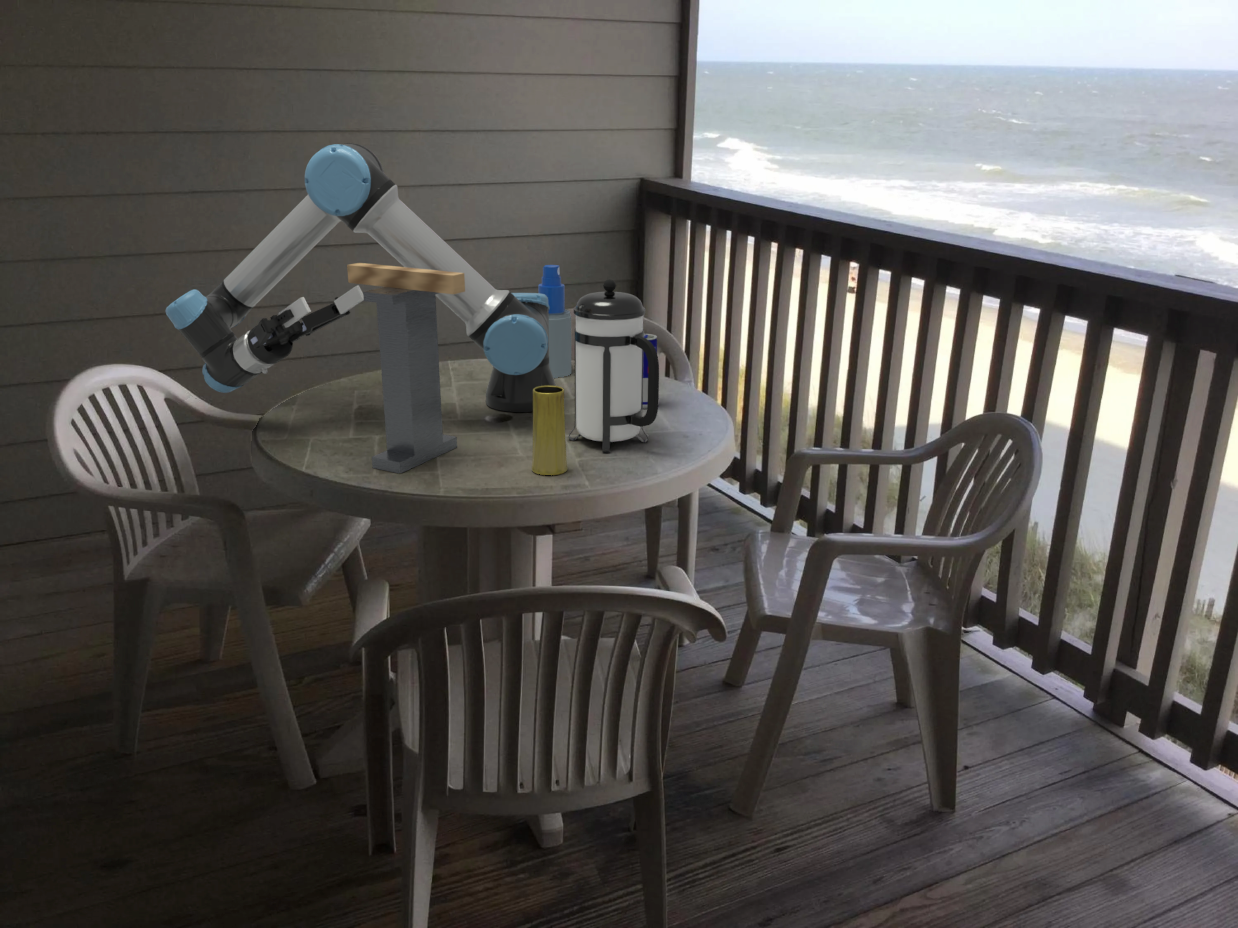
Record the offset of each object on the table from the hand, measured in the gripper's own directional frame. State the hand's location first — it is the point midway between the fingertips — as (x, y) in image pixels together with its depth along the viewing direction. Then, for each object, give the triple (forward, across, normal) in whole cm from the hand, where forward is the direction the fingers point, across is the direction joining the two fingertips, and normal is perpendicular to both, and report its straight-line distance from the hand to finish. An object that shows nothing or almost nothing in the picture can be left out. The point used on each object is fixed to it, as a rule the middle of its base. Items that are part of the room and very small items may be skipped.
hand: (334, 298), depth 173 cm
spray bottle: (-9, -63, -26) cm, 69 cm away
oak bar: (+15, 0, -5) cm, 16 cm away
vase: (+21, -6, -43) cm, 48 cm away
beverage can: (+18, -49, -42) cm, 67 cm away
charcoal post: (0, 0, -31) cm, 31 cm away
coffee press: (+23, -25, -45) cm, 56 cm away
